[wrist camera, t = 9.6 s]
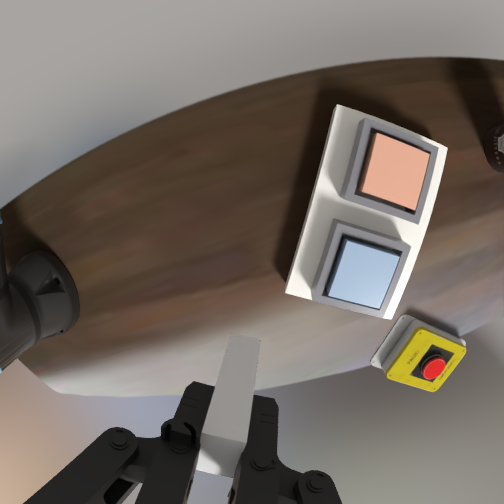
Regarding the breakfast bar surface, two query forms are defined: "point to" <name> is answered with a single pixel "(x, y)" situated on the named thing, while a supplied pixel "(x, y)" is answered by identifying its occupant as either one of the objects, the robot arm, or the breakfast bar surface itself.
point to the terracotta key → (393, 171)
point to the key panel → (360, 211)
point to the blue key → (361, 272)
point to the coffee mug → (495, 147)
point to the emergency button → (418, 354)
